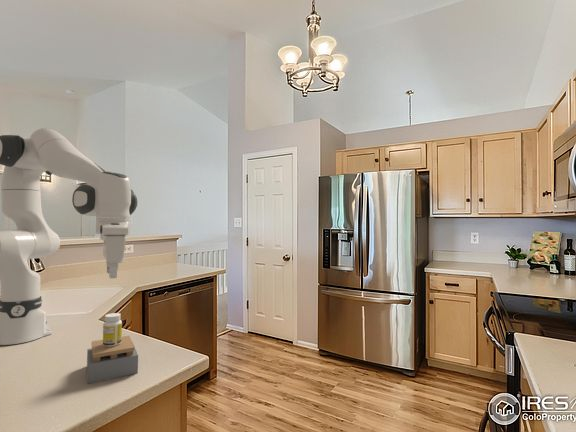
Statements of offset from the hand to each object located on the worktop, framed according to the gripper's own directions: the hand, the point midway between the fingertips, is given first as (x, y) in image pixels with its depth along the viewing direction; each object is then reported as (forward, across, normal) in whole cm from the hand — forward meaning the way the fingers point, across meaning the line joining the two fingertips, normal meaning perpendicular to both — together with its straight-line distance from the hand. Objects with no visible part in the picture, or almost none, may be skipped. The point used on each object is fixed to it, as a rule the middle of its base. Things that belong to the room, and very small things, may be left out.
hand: (111, 275), depth 94 cm
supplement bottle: (+20, 0, +1) cm, 20 cm away
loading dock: (+27, +1, +1) cm, 27 cm away
